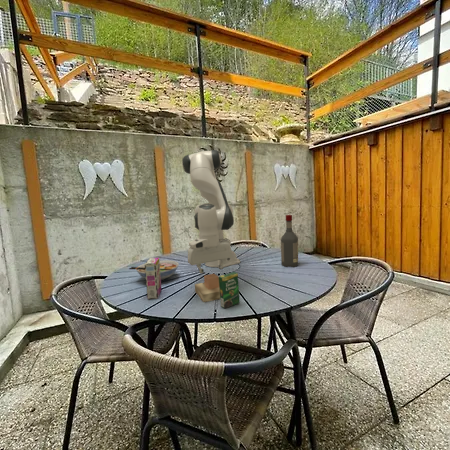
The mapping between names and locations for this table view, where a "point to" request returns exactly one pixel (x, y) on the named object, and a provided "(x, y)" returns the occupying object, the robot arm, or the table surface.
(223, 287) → the coffee box
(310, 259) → the table surface
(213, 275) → the terracotta cube
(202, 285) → the maple block
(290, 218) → the liquor
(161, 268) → the ramen bowl
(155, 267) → the candy bar box
